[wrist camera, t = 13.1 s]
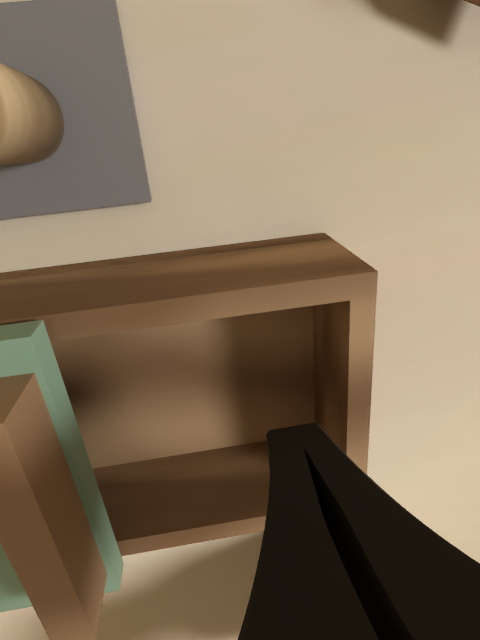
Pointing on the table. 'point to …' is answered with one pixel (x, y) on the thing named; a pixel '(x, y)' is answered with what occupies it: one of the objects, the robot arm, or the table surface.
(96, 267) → the toolbox
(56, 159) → the mat
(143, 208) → the table surface
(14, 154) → the beige banded cylinder
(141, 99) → the table surface
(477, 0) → the wooden block set
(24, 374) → the toolbox lid
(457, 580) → the robot arm
